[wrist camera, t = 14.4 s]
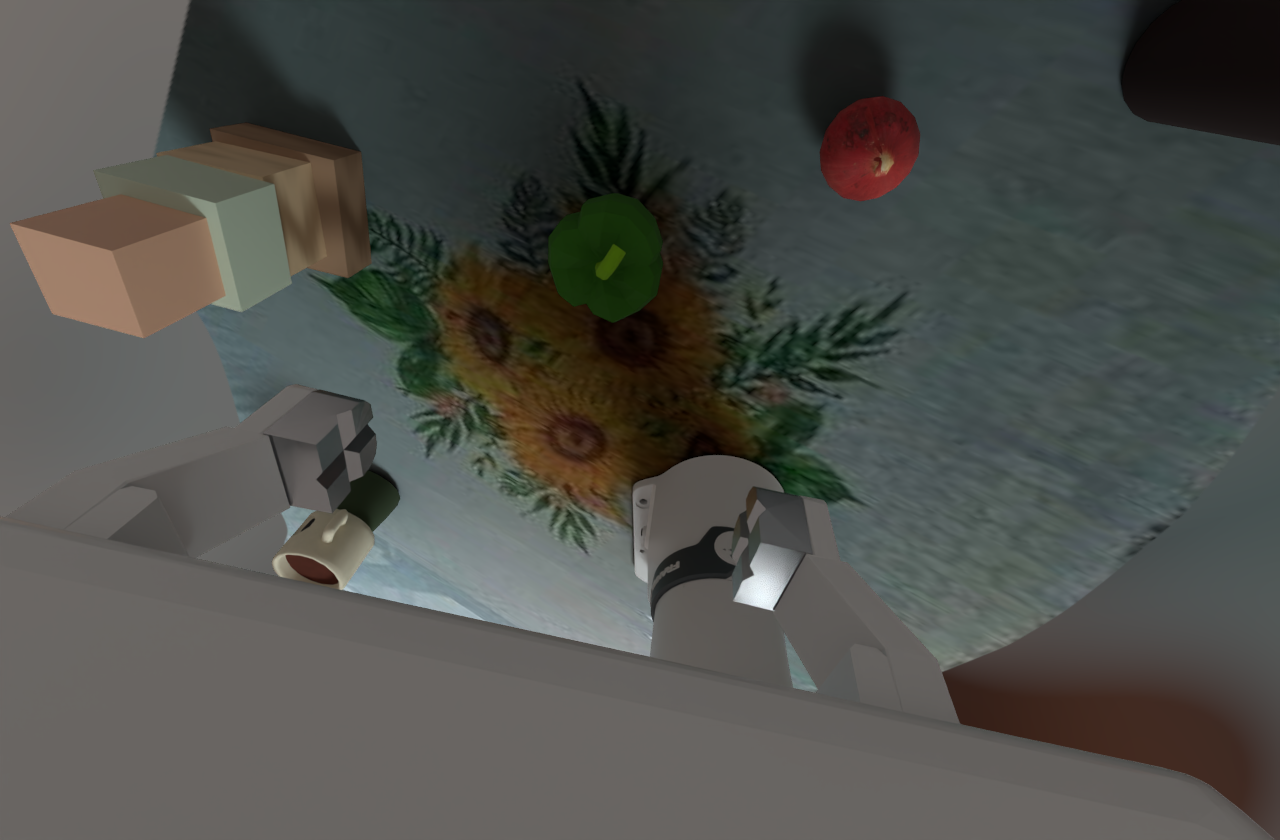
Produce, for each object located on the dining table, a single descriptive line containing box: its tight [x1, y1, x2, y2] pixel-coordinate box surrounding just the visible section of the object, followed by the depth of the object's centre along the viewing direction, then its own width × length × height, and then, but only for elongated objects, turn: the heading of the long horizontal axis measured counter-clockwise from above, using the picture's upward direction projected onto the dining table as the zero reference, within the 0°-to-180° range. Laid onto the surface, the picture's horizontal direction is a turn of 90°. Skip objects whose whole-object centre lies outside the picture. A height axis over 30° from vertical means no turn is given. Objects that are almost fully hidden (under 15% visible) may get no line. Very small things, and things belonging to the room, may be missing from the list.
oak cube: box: [156, 141, 327, 276], centre depth 38 cm, size 7×7×5 cm
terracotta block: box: [10, 194, 226, 338], centre depth 30 cm, size 5×5×6 cm
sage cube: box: [94, 155, 292, 312], centre depth 34 cm, size 7×7×5 cm
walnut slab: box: [210, 123, 371, 278], centre depth 42 cm, size 9×9×4 cm
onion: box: [820, 96, 920, 201], centre depth 33 cm, size 6×6×8 cm
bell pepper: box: [548, 193, 663, 322], centre depth 38 cm, size 8×8×10 cm
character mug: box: [272, 470, 400, 590], centre depth 58 cm, size 11×7×13 cm, turn 150°
